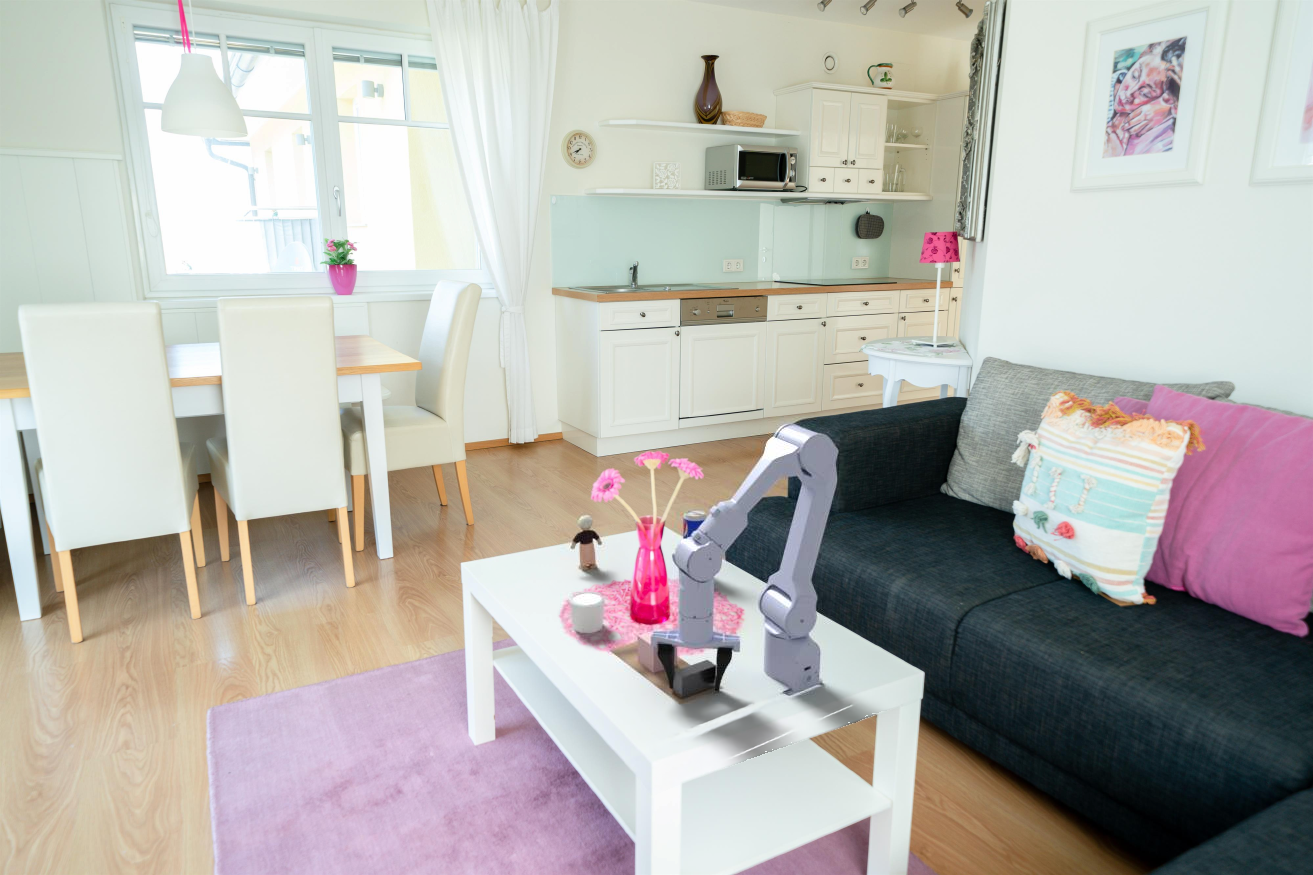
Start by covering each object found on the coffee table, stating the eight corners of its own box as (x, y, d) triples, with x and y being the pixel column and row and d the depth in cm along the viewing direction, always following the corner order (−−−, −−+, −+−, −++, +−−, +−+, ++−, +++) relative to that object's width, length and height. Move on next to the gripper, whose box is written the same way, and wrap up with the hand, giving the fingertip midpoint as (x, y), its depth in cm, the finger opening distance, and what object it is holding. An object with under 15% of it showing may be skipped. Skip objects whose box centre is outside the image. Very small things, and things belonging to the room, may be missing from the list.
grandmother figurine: (594, 561, 196) (593, 510, 193) (604, 565, 193) (603, 514, 190) (567, 569, 191) (566, 517, 188) (576, 574, 188) (575, 521, 185)
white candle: (611, 635, 158) (611, 601, 157) (578, 643, 155) (578, 608, 153) (595, 621, 164) (595, 588, 163) (564, 628, 161) (563, 595, 159)
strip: (723, 692, 137) (723, 665, 136) (679, 709, 132) (679, 681, 131) (650, 641, 155) (650, 617, 154) (609, 654, 150) (608, 629, 149)
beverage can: (678, 577, 186) (679, 514, 183) (688, 569, 190) (689, 508, 187) (699, 581, 184) (700, 517, 180) (709, 573, 188) (710, 511, 185)
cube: (677, 665, 144) (677, 638, 143) (653, 672, 142) (653, 646, 141) (660, 653, 148) (661, 628, 147) (637, 661, 146) (637, 635, 145)
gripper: (741, 602, 136) (739, 677, 139) (654, 598, 138) (654, 672, 141) (740, 621, 129) (738, 699, 132) (649, 616, 131) (649, 693, 134)
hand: (694, 686), depth 136 cm, fingers open, 7 cm apart
